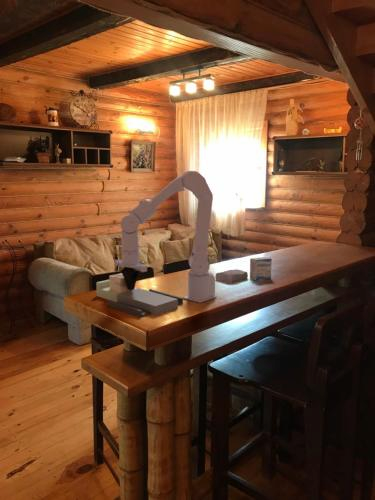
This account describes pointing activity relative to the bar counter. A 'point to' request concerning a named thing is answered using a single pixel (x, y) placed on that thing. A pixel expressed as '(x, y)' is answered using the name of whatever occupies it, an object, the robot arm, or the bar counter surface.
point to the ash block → (118, 283)
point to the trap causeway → (138, 300)
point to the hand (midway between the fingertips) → (131, 289)
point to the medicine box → (260, 268)
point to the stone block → (231, 276)
